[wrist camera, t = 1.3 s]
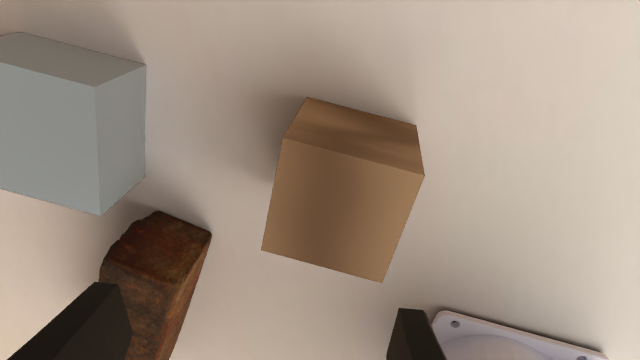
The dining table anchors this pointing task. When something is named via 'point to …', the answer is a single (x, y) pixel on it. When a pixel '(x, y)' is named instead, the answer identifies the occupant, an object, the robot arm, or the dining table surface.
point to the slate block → (70, 123)
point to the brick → (156, 280)
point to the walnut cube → (343, 189)
